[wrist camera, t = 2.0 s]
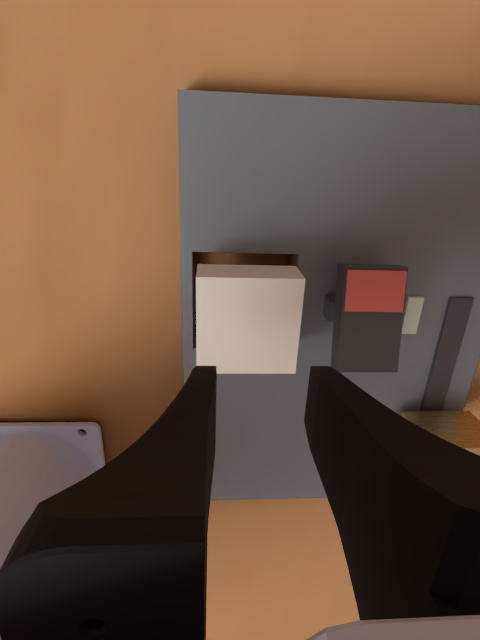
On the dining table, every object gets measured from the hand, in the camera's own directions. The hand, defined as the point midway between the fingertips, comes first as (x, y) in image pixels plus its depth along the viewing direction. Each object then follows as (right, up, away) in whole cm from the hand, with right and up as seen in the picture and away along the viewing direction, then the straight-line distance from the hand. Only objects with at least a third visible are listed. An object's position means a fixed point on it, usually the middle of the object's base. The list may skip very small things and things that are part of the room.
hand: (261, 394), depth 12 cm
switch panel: (+4, +2, +10) cm, 11 cm away
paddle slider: (+10, -4, +10) cm, 15 cm away
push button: (0, +3, +6) cm, 7 cm away
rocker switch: (+5, +2, +6) cm, 8 cm away
